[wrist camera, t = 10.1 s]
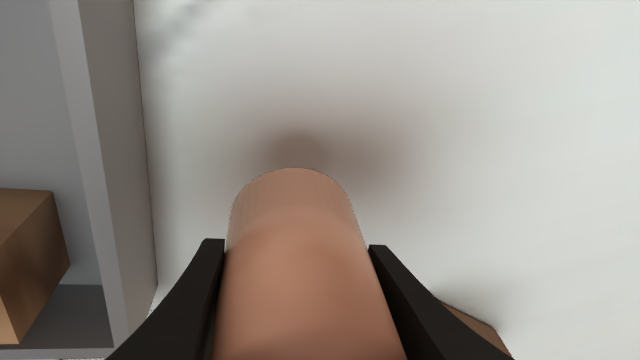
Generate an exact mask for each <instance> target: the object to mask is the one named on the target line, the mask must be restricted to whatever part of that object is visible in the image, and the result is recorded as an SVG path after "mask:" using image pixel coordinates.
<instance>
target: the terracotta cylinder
mask: <svg viewBox="0 0 640 360" xmlns="http://www.w3.org/2000/svg"><path fill="white" fill-rule="evenodd" d="M209 360H407V357H406V355H405V352H404V349H403V346H402V344H401V341H400V338H399V335H398V333H397V330H396V327H395V324H394V322H393V319H392V316H391V313H390V310H389V308H388V305H387V302H386V299H385V297H384V294H383V291H382V288H381V286H380V283H379V280H378V277H377V275H376V272H375V269H374V266H373V263H372V261H371V258H370V255H369V252H368V250H367V247H366V244H365V241H364V239H363V236H362V233H361V230H360V228H359V225H358V222H357V219H356V216H355V214H354V211H353V208H352V205H351V203H350V200H349V198H348V196H347V194H346V192H345V191H344V189H343V188H342V187H341V186H340V185H339V184H338V183H337V182H336V181H335V180H333V179H332V178H330V177H329V176H327V175H325V174H323V173H320V172H318V171H315V170H311V169H306V168H282V169H278V170H273V171H270V172H267V173H265V174H263V175H261V176H259V177H257V178H255V179H254V180H252V181H251V182H250V183H248V184H247V185H246V186H245V187H244V188H243V189H242V190H241V191H240V193H239V194H238V196H237V197H236V199H235V201H234V203H233V205H232V208H231V212H230V219H229V225H228V232H227V239H226V246H225V253H224V260H223V267H222V274H221V280H220V287H219V294H218V301H217V308H216V315H215V322H214V329H213V335H212V342H211V349H210V356H209Z"/></svg>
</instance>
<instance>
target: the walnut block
mask: <svg viewBox="0 0 640 360" xmlns="http://www.w3.org/2000/svg"><path fill="white" fill-rule="evenodd" d="M70 266H71V264H70V260H69V256H68V252H67V248H66V244H65V240H64V235H63V231H62V227H61V223H60V219H59V215H58V211H57V207H56V202H55V198H54V194H53V191H47V190H30V189H13V188H0V344H20V342H21V340H22V339H23V337H24V336H25V334H26V333H27V331H28V330H29V328H30V327H31V325H32V324H33V322H34V321H35V319H36V318H37V316H38V314H39V313H40V311H41V310H42V308H43V307H44V305H45V304H46V302H47V301H48V299H49V298H50V296H51V295H52V293H53V292H54V290H55V289H56V287H57V285H58V284H59V282H60V281H61V279H62V278H63V276H64V275H65V273H66V272H67V270H68V269H69V267H70Z"/></svg>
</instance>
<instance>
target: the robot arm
mask: <svg viewBox="0 0 640 360" xmlns="http://www.w3.org/2000/svg"><path fill="white" fill-rule="evenodd" d="M224 246H225V239H211V238H206V239H204V240H203V241H202V243H201V245H200V247H199V249H198V251H197V253H196V254H195V256H194V258H193V259H192V261H191V262H190V264H189V265H188V267H187V268H186V270H185V271H184V273H183V274H182V276H181V277H180V278H179V280H178V281H177V283H176V284H175V285H174V287H173V288H172V289H171V290H170V292H169V293H168V294H167V295H166V297H165V298H164V299H163V300H162V302H161V303H160V304H159V305H158V306H157V308H156V309H155V310H154V311H153V312H152V313H151V314H150V316H149V317H148V318H147V319H146V320H145V321H144V322H143V323H142V324H141V325H140V326H139V327H138V328H137V329H136V330H135V331H134V332H133V333H132V334H131V335H130V336H129V337H128V338H127V339H126V340H125V341H124V342H123V343H122V344H121V345H120V346H119V347H118V348H117V349H116V350H115V351H114V352H113V353H112V354H110V355H109V356H108V357H107V358H106V359H105V360H209V356H210V349H211V342H212V335H213V329H214V322H215V315H216V308H217V301H218V294H219V287H220V280H221V274H222V267H223V260H224ZM368 252H369V255H370V258H371V261H372V263H373V266H374V269H375V272H376V275H377V277H378V280H379V283H380V286H381V288H382V291H383V294H384V297H385V299H386V302H387V305H388V308H389V310H390V313H391V316H392V319H393V322H394V324H395V327H396V330H397V333H398V335H399V338H400V341H401V344H402V346H403V349H404V352H405V355H406V357H407V360H515V359H513V358H512V357H510V356H509V355H507V354H506V353H504V352H503V351H501V350H500V349H498V348H497V347H495V346H494V345H493V344H491V343H490V342H488V341H487V340H486V339H484V338H483V337H481V336H480V335H479V334H477V333H476V332H475V331H473V330H472V329H471V328H470V327H469V326H467V325H466V324H465V323H464V322H462V321H461V320H460V319H459V318H457V317H456V316H455V315H454V314H453V313H452V312H450V311H449V310H448V309H447V308H446V307H445V306H444V305H443V304H442V303H441V302H440V301H439V300H437V299H436V298H435V297H434V296H433V295H432V294H431V293H430V292H429V291H428V290H427V289H426V288H425V287H424V286H423V285H422V284H421V283H420V282H419V281H418V280H417V279H416V278H415V276H414V275H413V274H412V273H411V272H410V271H409V270H408V269H407V268H406V267H405V266H404V265H403V264H402V262H401V261H400V260H399V259H398V258H397V257H396V256H395V255H394V254H393V253H392V251H391V250H390V249H389V248H388V247H387V246H386V245H369V248H368ZM29 360H59V359H29Z"/></svg>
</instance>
